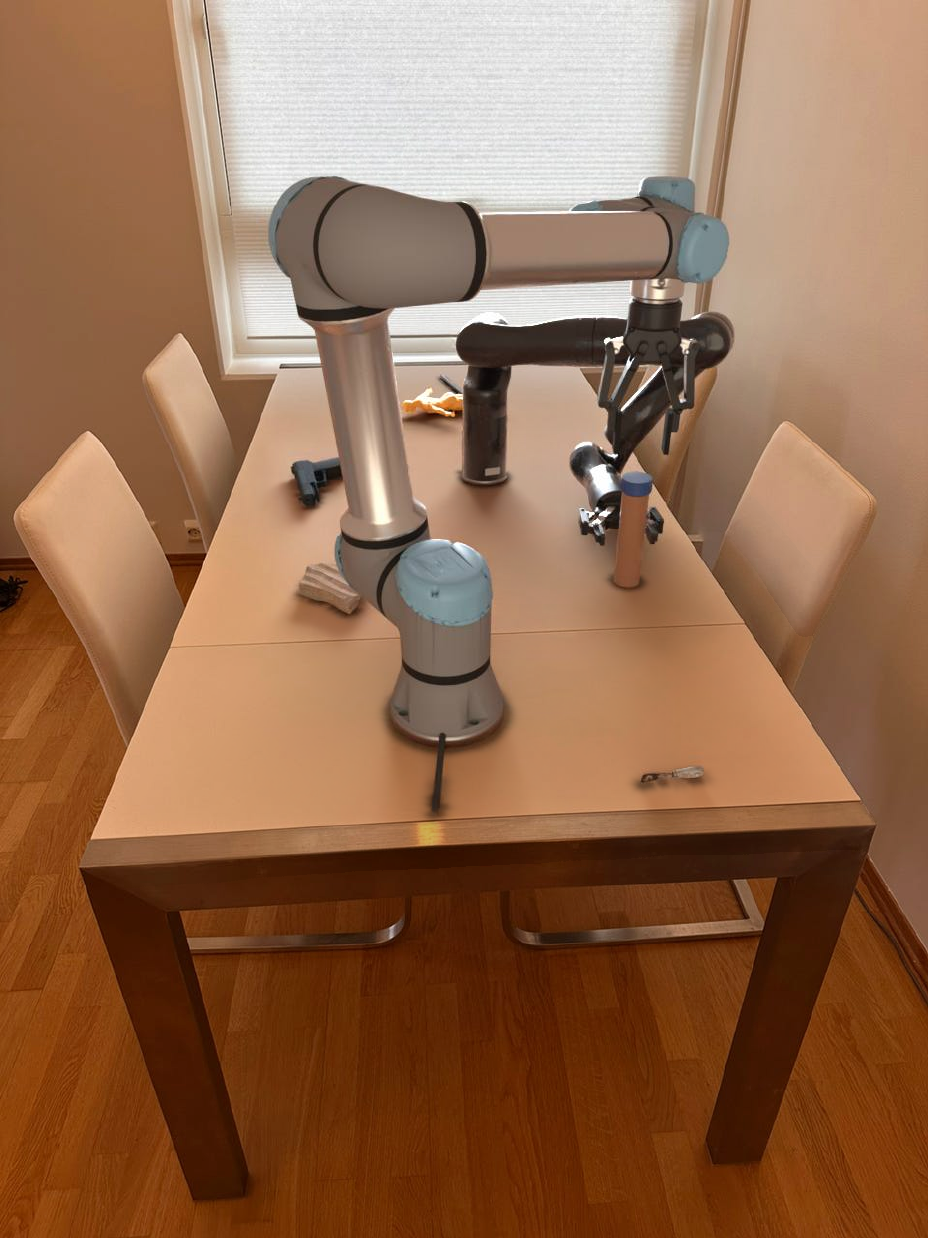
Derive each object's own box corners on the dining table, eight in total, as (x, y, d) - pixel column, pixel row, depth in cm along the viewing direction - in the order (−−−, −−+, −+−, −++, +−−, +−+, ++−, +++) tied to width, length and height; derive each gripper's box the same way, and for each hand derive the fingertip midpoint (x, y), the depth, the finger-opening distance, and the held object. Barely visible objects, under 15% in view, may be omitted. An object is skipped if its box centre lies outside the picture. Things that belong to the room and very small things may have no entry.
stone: (385, 581, 151) (385, 567, 150) (351, 615, 142) (350, 601, 141) (319, 567, 156) (318, 554, 154) (282, 600, 146) (280, 587, 145)
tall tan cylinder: (644, 583, 151) (656, 481, 141) (625, 590, 149) (635, 487, 139) (627, 572, 154) (638, 472, 144) (608, 579, 152) (617, 478, 142)
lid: (658, 492, 142) (659, 479, 141) (634, 499, 140) (635, 486, 138) (637, 481, 145) (638, 468, 144) (613, 488, 143) (615, 475, 142)
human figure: (395, 413, 223) (394, 398, 221) (438, 390, 237) (438, 375, 235) (462, 429, 215) (462, 413, 213) (502, 404, 229) (503, 388, 227)
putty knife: (703, 777, 109) (705, 767, 109) (642, 788, 108) (644, 777, 107) (700, 772, 110) (702, 762, 109) (639, 782, 109) (640, 771, 108)
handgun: (359, 501, 179) (299, 508, 177) (345, 467, 193) (290, 474, 191) (358, 487, 178) (297, 493, 175) (344, 454, 192) (288, 460, 189)
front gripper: (587, 303, 124) (577, 459, 136) (732, 304, 123) (708, 461, 135) (584, 291, 130) (574, 441, 143) (722, 292, 129) (700, 443, 142)
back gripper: (573, 481, 161) (587, 520, 147) (651, 480, 162) (673, 518, 148) (570, 519, 165) (584, 560, 151) (646, 517, 166) (667, 558, 152)
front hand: (640, 450), depth 139 cm, fingers open, 7 cm apart
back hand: (628, 540), depth 150 cm, fingers open, 8 cm apart
